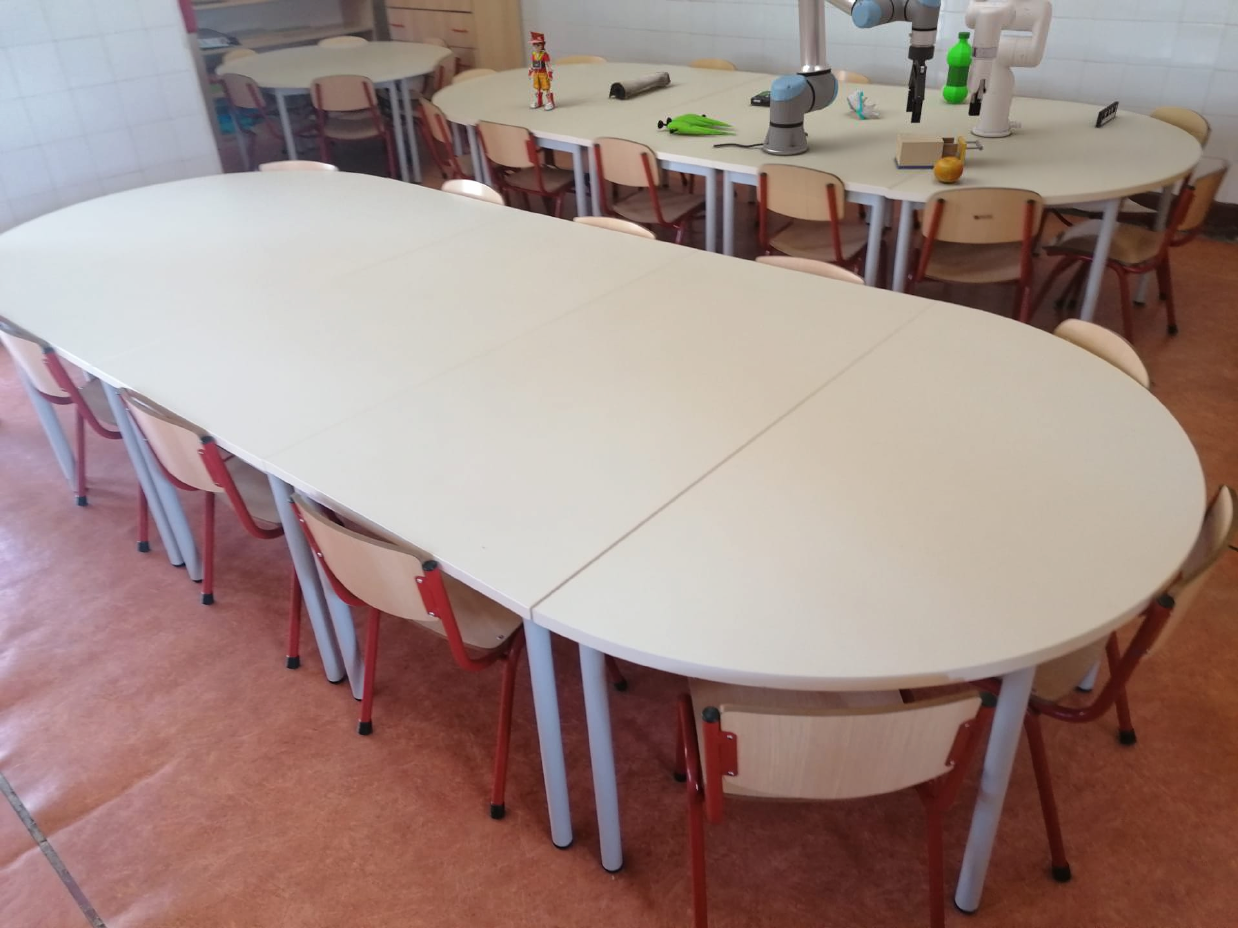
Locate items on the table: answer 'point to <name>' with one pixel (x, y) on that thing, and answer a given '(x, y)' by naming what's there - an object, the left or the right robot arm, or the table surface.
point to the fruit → (948, 169)
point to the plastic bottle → (958, 70)
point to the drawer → (958, 147)
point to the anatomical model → (861, 105)
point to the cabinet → (918, 150)
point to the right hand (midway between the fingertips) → (973, 115)
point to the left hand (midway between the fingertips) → (912, 117)
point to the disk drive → (761, 99)
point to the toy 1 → (541, 71)
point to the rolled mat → (638, 84)
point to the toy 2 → (692, 125)
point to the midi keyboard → (1107, 113)
